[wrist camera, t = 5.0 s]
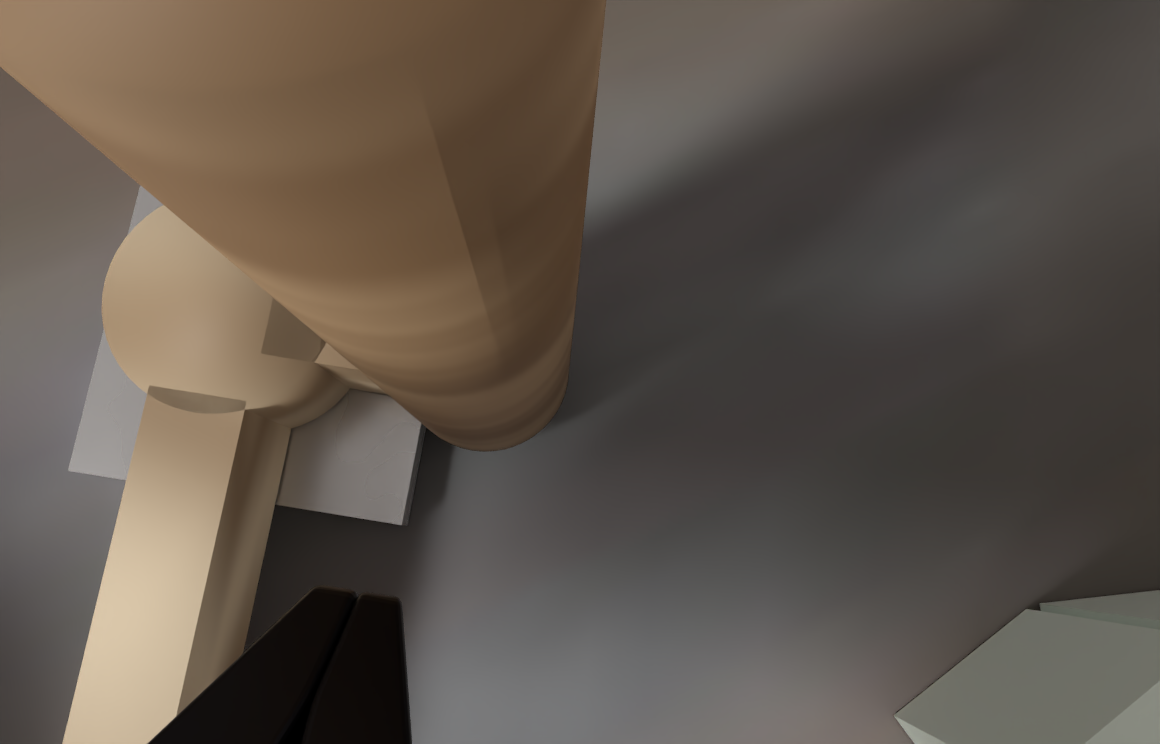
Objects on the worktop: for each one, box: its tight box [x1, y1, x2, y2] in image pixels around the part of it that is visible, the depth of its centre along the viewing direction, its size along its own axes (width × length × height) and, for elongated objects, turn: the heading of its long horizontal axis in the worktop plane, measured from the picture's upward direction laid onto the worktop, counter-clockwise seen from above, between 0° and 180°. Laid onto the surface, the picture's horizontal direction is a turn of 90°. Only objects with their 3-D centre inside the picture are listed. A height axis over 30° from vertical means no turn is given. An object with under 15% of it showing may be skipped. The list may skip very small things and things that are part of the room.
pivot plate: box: [68, 185, 426, 526], centre depth 18 cm, size 6×6×1 cm
